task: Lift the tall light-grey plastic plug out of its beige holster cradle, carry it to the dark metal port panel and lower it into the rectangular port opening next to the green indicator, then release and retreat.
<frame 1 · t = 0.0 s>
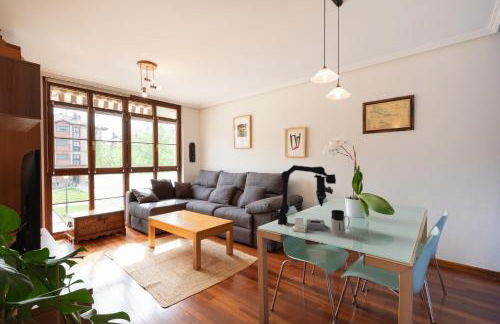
hand: (321, 205, 171), 15 cm above the table, fingers open, 9 cm apart
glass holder: (341, 236, 148), on the table
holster: (299, 230, 161), on the table
port: (315, 227, 166), on the table
plug: (299, 223, 161), in the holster
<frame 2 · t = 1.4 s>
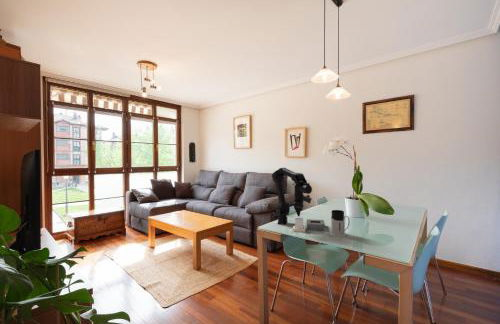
hand: (298, 214, 161), 11 cm above the table, fingers open, 9 cm apart
nothing on the table moved.
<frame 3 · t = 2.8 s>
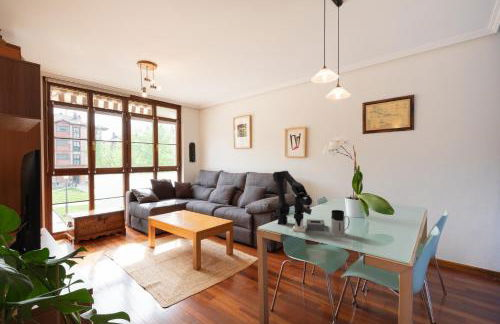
hand: (299, 225, 161), 3 cm above the table, fingers closed on plug, 3 cm apart
plug: (299, 223, 161), in the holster, touching gripper
everything else where it was.
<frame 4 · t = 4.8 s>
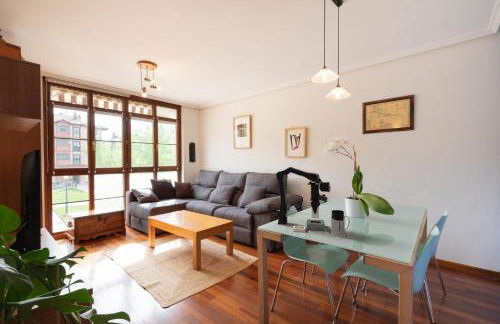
hand: (315, 213, 166), 10 cm above the table, fingers closed on plug, 3 cm apart
plug: (315, 211, 166), point 12 cm above the table, touching gripper
everything else where it was.
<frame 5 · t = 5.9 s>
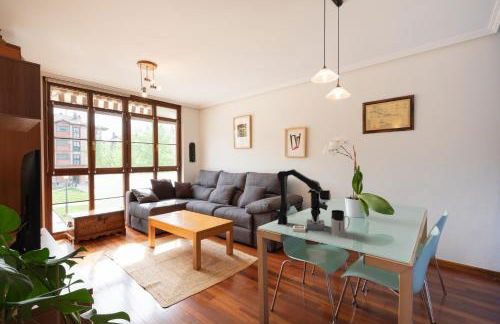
hand: (315, 221, 166), 4 cm above the table, fingers closed on plug, 3 cm apart
plug: (315, 219, 166), point 6 cm above the table, touching gripper
everything else where it was.
when the fingers open (4 cm above the table, at t = 6.7 s): plug drops 1 cm, resting in port.
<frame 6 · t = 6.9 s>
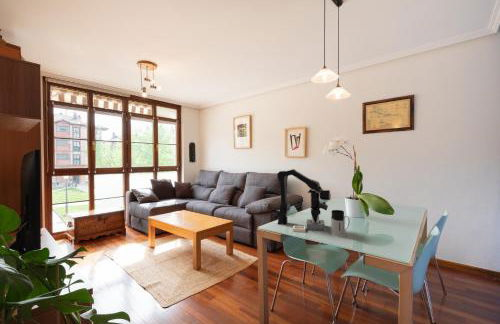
hand: (315, 221, 166), 4 cm above the table, fingers open, 6 cm apart
plug: (315, 221, 166), resting in port
everything else where it was.
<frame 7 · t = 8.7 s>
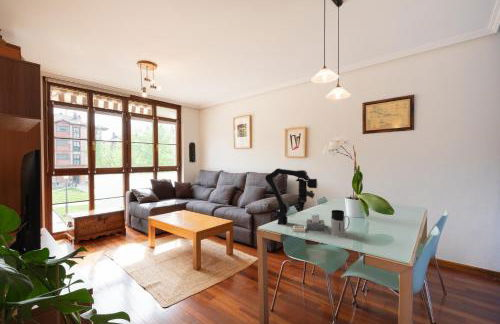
hand: (302, 208, 172), 12 cm above the table, fingers open, 9 cm apart
nothing on the table moved.
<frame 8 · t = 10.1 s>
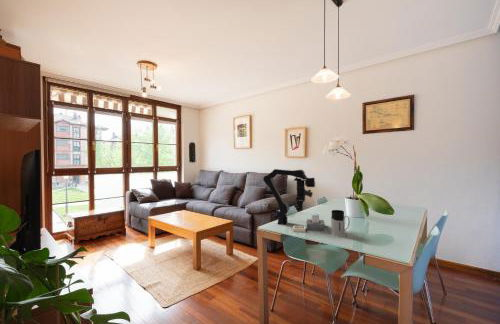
hand: (301, 207, 173), 13 cm above the table, fingers open, 9 cm apart
nothing on the table moved.
at the end: plug 0.0 cm off-centre on the port, point 4.5 cm above the port's base; plug tilted 0°; the gripper is holding nothing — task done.
